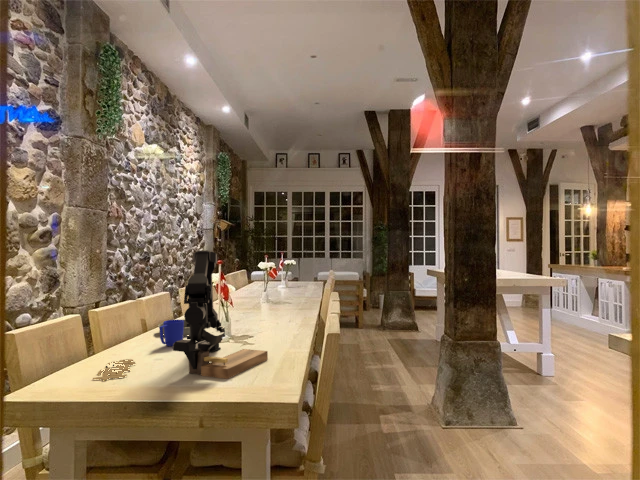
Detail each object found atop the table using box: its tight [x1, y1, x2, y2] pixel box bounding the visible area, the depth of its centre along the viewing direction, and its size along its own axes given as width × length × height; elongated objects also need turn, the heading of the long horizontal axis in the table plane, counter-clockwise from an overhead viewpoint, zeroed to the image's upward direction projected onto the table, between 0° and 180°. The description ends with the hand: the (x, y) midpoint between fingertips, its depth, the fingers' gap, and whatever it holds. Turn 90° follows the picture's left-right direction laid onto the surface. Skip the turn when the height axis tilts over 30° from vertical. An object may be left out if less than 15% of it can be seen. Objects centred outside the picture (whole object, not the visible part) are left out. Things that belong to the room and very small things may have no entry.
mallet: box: [188, 351, 228, 375], centre depth 149 cm, size 13×4×6 cm, turn 67°
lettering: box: [92, 358, 137, 381], centre depth 155 cm, size 25×10×1 cm, turn 12°
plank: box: [200, 348, 269, 380], centre depth 156 cm, size 10×25×3 cm, turn 157°
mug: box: [158, 319, 184, 347], centre depth 190 cm, size 8×12×10 cm
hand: (199, 367), depth 151 cm, fingers closed on mallet, 4 cm apart
